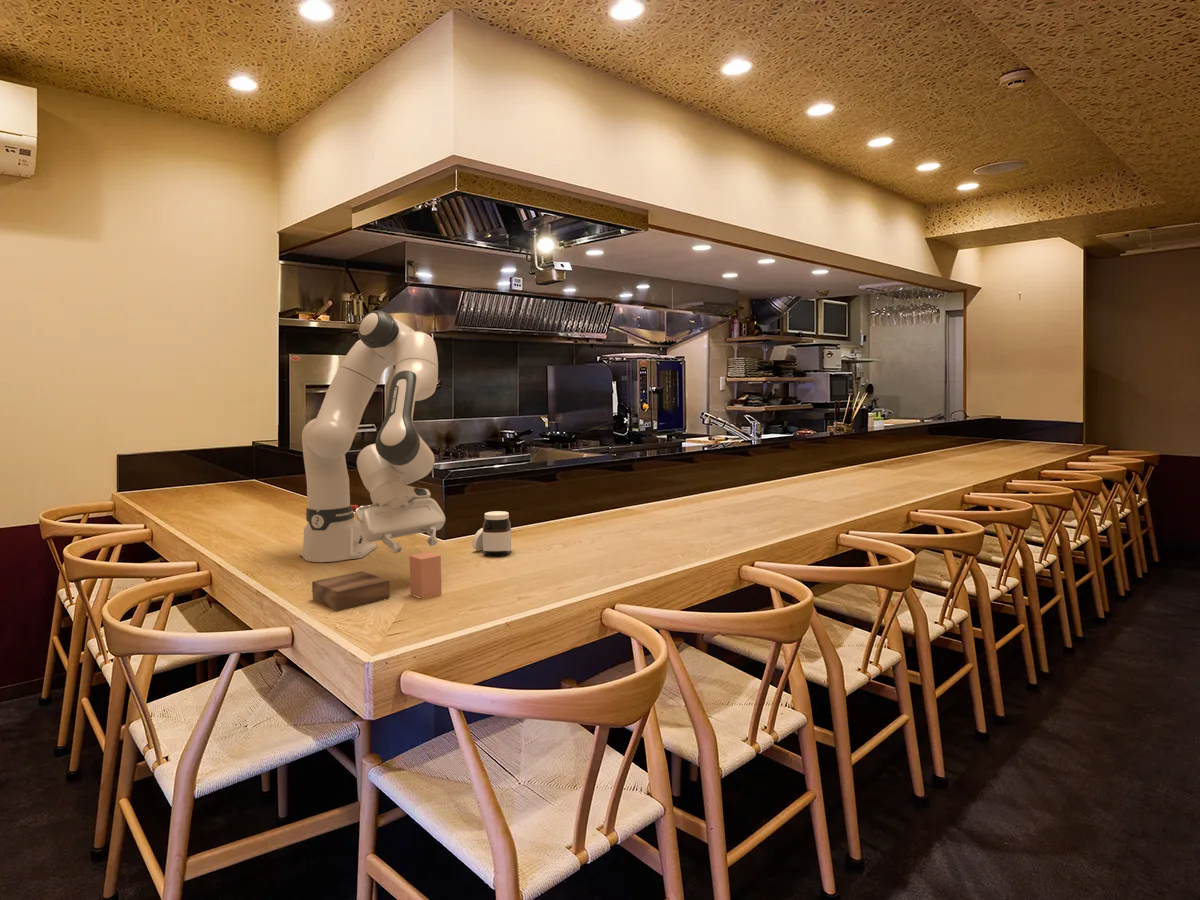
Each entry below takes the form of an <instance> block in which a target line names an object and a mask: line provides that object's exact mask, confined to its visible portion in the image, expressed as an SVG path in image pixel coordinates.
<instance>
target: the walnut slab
mask: <svg viewBox="0 0 1200 900" xmlns="http://www.w3.org/2000/svg"><path fill="white" fill-rule="evenodd" d="M311 588H312V589H311V591H312V600H313V601H314V600H315V602H316V603H319V604H320V605H323V604H324V606H325V605H326V607H328V608H331V609H332V610H335V611H337V612H341V611H345V610H349V609H353V608H356V607H361V606H365V605H369V604H372V603H378V602H381V600H382V601H385V600H384V599H386V600H389V599H388V598H390V599H391V595H390V594H391V592H390V580H389V579H385V578H384V577H380V576H377V575H375V574H371V573H369V572H366V571H363V570H362V571H357V572H353V573H349V574H342V575H338V576H332V577H328V578H322V579H318V580H313V581H311Z"/></svg>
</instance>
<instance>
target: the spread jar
mask: <svg viewBox="0 0 1200 900" xmlns="http://www.w3.org/2000/svg"><path fill="white" fill-rule="evenodd" d="M509 517H510V515H509V512H508V511H503V510H502V511H501V510H500V511H498V510H496V511H495V510H494V511H488V512H485V513H484V522H483V524H482V528H480V529H478V530H477V532H476V533H475V534H474V536H473V539H472V543H471V545H472V549H474V550H476V551H477V552H481V551H483V554H484V555H485V556H487V555H488V556H487V557H502V556H501V555H504V556H508V555H510V553H511V552H512V551H511V550H512V528H511V527H512V524H511V521H510V518H509ZM482 549H483V550H482ZM480 550H481V551H480ZM507 554H508V555H507Z"/></svg>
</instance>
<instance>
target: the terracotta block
mask: <svg viewBox="0 0 1200 900" xmlns="http://www.w3.org/2000/svg"><path fill="white" fill-rule="evenodd" d="M441 559H442V557H441V555H439V554H437V553H433V552H429V551H427V552H421V553H418V554H410V555H409V585H410V586H409V588H410V595H411V594H412V595H411V596H413V595H415V596H418V597H420V598H425V599H427V598H426V597H429V598H431V597H430V596H433V597H435V596H434V595H438V596H440V595H439V594H442V592H443V591H442V561H441ZM415 596H414V597H415ZM418 597H417V598H418ZM420 598H419V599H420Z"/></svg>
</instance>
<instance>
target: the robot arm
mask: <svg viewBox="0 0 1200 900" xmlns="http://www.w3.org/2000/svg"><path fill="white" fill-rule="evenodd" d="M357 328H358V329H357V336H358V339H359V340H357V341H356V342H355V343H354V344H353V345H352V346H351V348H350V349H349V351H348V352H347V354H346V355H345V357H344V358H343V360H342V361H341V363H340V365H339V367H338V369H337V371H336V372H335V375H334V377H333V378H332V381H331V382H330V384H329V386H328V388H327V390H326V391H325V392H326V393H325V396H324V399H323V402H322V404H321V407H320V409H319V411H318V414H317V415H316V418H313V419H310V420H309V421H308V422H307V423H306V424H305V425H304V426H303V427H304V428H303V429H302V432H301V444H302V445H301V446H302V457H303V464H304V470H305V478H306V495H307V499H306V500H307V501H306V502H307V507H306V509H305V516H306V517H305V519H306V522H307V524H306V525H305V526H304V528H303V541H302V551H300V552H299V556H300V555H302V556H303V557H302V559H303V558H304V559H305V560H304V559H303V560H304V561H306V560H307V561H306V562H311V561H312V562H311V563H313V562H315V563H329V562H340V561H346V560H352V559H353V560H355V559H361V558H364V557H365V556H366V555H368V554H369V553H370V552H372V551H373V550H375V549H376V548H377V547H378V546H377V543H376V542H378V541H382V543H383V544H384V545H385V546H387V547H388V548H390V549H391V551H392V553H393V554H396V553H401V551H402V550H403V549H402V548H403V547H402V545H401V543H400V542H399V541H398V542H396V541H394V538H401V537H404V536H407V537H408V536H411V535H412V536H413V535H417V534H422V533H426V534H427V535H429V537H428V539H427V540H426V542H427V543H428V545H429V546H430V547H431V546H432V547H433V546H437V544H438V543H439V541H438V539H437V535H436V533H437V531H440V530H441V529H443V527H444V525H445V523H446V521H447V520H446V515H445V513H444V512H443V510H442V508H441V507H440V505H439V504H438V502H437V501H436V500H435V499H434V498H432V497H431V495H432V494H431V492H430V490H429V489H428V488H422V487H417V486H416V487H415V486H411V485H410V484H413V483H415V482H418V481H420V480H422V479H425V478H426V477H427V476H428V475H429V474H430V473H431V472H432V471H433V469H434V467H435V464H436V457H435V454H434V452H433V451H432V449H431V448H430V447H429V446H428V445H427V443H426V442H425V441H424V440H423V438H422V437H421V435H419V433H418V431H417V429H416V426H415V425H414V422H413V419H414V418H413V417H414V411H415V410H414V409H415V404H416V402H420V401H423V400H426V399H428V398H430V397H432V396H433V395H434V393H435V392H436V390H437V385H438V382H439V381H438V379H439V378H438V377H439V360H438V351H437V345H436V341H435V340H434V339H433V337H432V336H430V335H429V334H428V333H425V332H423V331H415V330H414V329H413V328H412V327H410V326H409V325H407V324H404V322H403V321H400V320H399V319H397V318H395V317H393V316H392V314H389V313H388V312H386V311H383V310H378V309H376V310H372V311H370V312H368V313H367V314H366V315H364V316H363V317H362V318H361V320H360V322H359V325H358V327H357ZM392 366H393V369H394V376H393V378H392V380H391V383H390V389H389V392H388V397H387V398H388V399H387V405H386V411H385V415H384V419H383V422H382V424H381V427H380V428H379V430H378V432H377V436H376V438H375V443H372V444H369V445H366V446H365V447H363V448H362V450H361V451H359V453H358V455H357V458H356V468H357V471H358V473H359V476H360V479H361V481H362V484H363V486H364V487H365V489H366V490H367V491H368V492H369V495H370V497H369V498H370V501H371V502H372V504H368V505H360V506H358V504H351V495H350V493H351V492H350V491H351V489H350V476H349V473H348V468H347V466H348V465H347V461H346V454H347V453H348V451H350V449H351V447H352V444H353V441H354V439H355V437H356V434H357V431H358V429H359V426H360V423H361V422H362V421H361V420H362V418H363V414H364V412H365V410H366V407H367V406H368V404H369V401H370V400H371V397H372V396H373V394H374V392H375V389H376V388H377V385H378V383H379V381H380V379H381V377H382V375H383V373H384V371H385V370H386V369H388V368H389V367H392Z"/></svg>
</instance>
